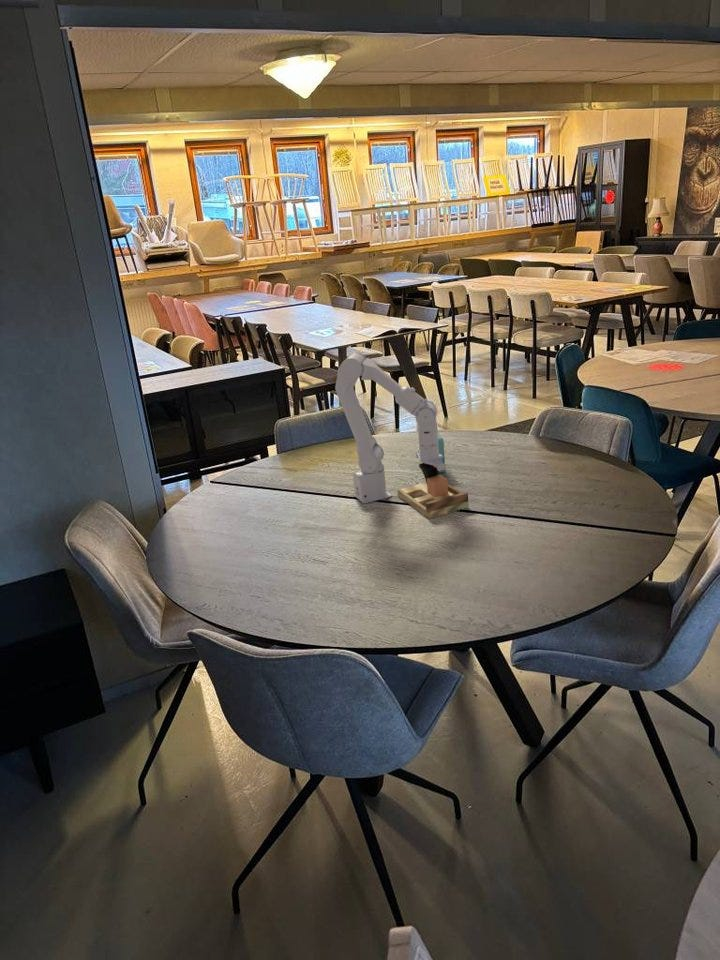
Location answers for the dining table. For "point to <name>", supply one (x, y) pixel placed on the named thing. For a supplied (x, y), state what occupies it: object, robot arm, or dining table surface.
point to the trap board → (433, 500)
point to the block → (437, 486)
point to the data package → (441, 450)
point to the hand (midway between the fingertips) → (431, 485)
